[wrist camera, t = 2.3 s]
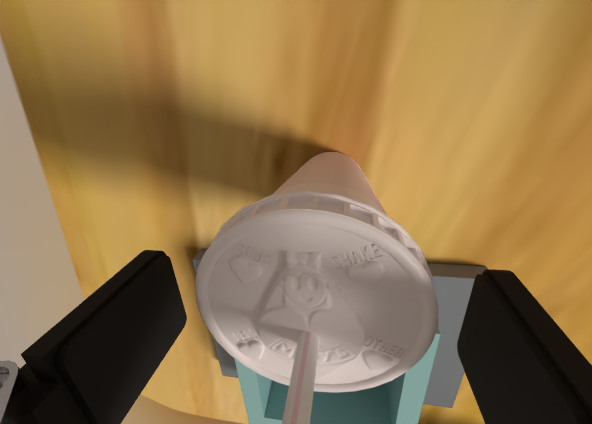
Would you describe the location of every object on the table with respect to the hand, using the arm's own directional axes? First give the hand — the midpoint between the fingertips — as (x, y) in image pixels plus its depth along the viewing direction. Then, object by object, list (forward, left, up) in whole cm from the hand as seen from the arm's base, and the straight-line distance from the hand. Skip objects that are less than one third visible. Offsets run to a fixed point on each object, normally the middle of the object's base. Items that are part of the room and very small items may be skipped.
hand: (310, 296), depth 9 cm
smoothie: (-1, 0, -8) cm, 8 cm away
